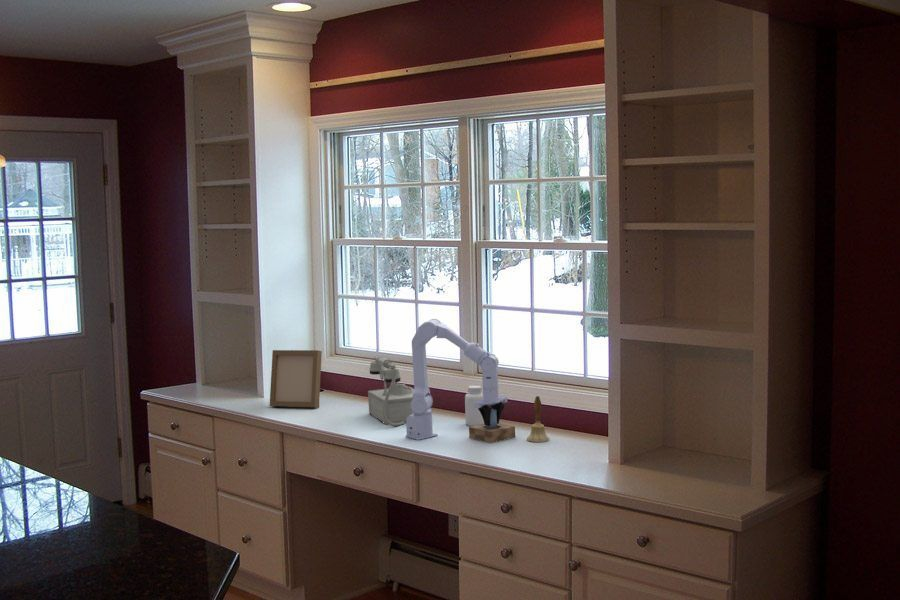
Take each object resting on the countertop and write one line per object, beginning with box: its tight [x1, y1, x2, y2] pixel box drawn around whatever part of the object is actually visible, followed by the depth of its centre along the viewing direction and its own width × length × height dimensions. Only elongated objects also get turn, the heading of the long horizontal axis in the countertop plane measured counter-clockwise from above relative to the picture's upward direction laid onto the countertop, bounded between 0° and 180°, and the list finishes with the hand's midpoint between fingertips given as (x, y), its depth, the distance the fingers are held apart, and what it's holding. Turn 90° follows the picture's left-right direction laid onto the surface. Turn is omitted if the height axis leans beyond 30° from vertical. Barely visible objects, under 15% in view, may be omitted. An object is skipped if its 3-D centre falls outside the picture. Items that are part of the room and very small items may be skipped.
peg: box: [486, 409, 497, 429], centre depth 360 cm, size 4×4×8 cm
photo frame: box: [269, 349, 323, 408], centre depth 433 cm, size 15×22×25 cm
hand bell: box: [526, 395, 550, 443], centre depth 354 cm, size 8×8×16 cm
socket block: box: [468, 422, 516, 444], centre depth 361 cm, size 12×12×4 cm
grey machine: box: [367, 356, 414, 427], centre depth 399 cm, size 32×20×25 cm, turn 21°
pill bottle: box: [464, 385, 484, 427], centre depth 383 cm, size 8×8×15 cm
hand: (491, 424), depth 360 cm, fingers closed on peg, 4 cm apart
